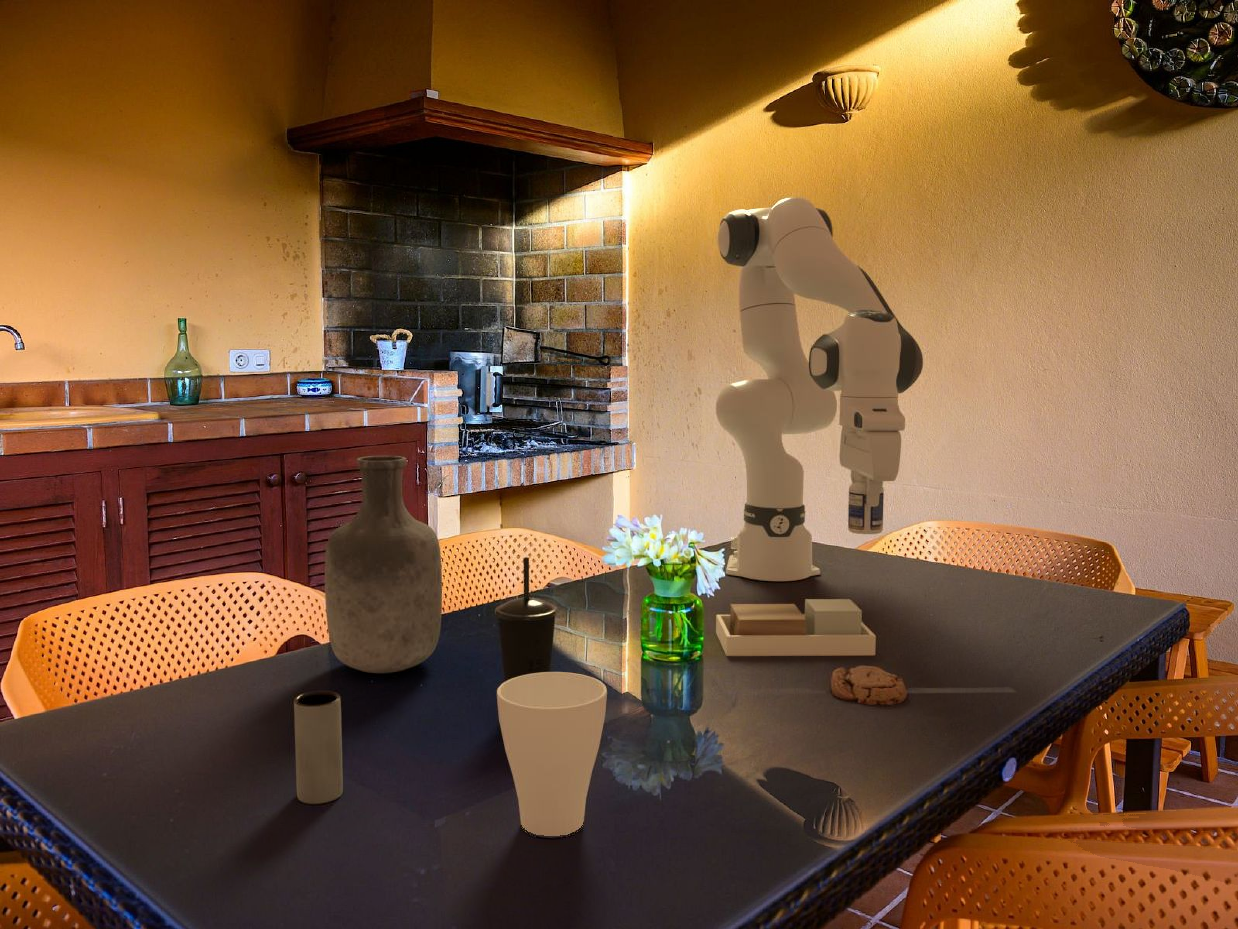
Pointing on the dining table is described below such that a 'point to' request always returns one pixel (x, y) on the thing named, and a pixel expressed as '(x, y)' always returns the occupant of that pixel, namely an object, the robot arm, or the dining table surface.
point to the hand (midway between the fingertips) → (865, 502)
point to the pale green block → (832, 617)
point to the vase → (383, 578)
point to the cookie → (868, 686)
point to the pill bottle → (863, 509)
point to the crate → (794, 643)
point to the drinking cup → (526, 633)
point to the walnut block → (766, 619)
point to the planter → (318, 746)
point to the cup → (552, 745)
